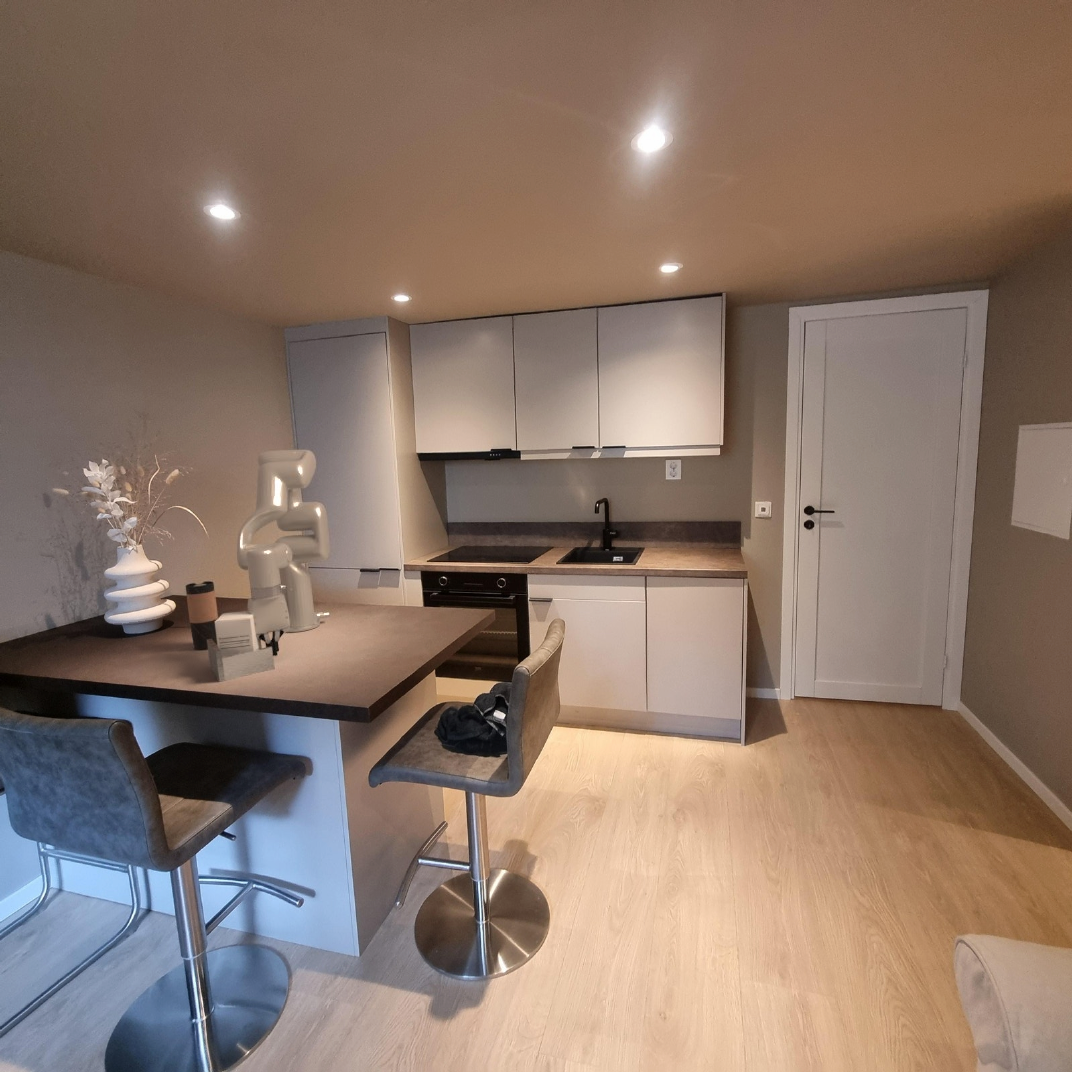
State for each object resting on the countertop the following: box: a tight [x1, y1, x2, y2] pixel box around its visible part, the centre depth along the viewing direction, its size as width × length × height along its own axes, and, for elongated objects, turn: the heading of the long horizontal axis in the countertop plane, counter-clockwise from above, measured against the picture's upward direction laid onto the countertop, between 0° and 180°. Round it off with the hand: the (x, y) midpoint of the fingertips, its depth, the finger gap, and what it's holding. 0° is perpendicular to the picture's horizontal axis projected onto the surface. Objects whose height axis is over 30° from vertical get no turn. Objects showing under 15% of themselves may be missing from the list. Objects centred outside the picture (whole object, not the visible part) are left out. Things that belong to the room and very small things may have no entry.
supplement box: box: [215, 610, 262, 657], centre depth 155 cm, size 9×9×15 cm
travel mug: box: [185, 581, 219, 651], centre depth 175 cm, size 8×8×20 cm
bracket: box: [207, 639, 275, 683], centre depth 155 cm, size 13×14×8 cm
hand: (273, 654), depth 160 cm, fingers closed
